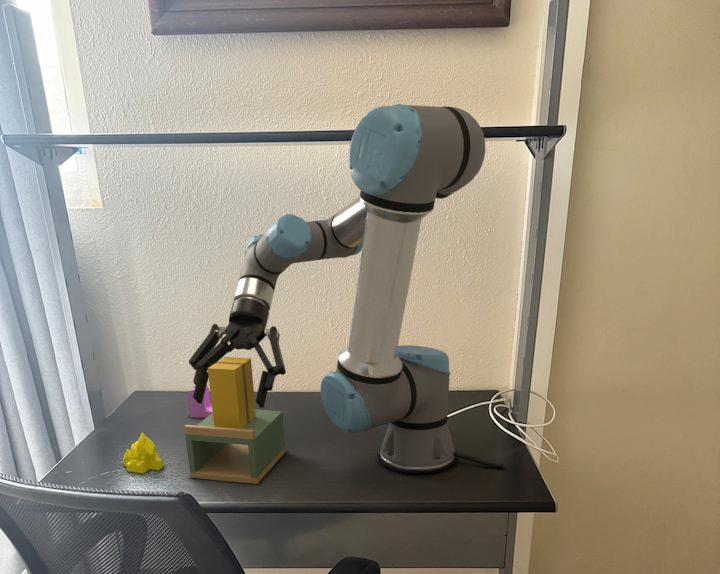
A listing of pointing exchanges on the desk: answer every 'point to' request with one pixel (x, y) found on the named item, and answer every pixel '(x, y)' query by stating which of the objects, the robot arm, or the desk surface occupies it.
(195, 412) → the bracket
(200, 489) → the desk surface
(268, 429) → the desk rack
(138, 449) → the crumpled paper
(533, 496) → the desk surface
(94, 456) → the desk surface
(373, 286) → the robot arm
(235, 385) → the package
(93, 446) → the desk surface
